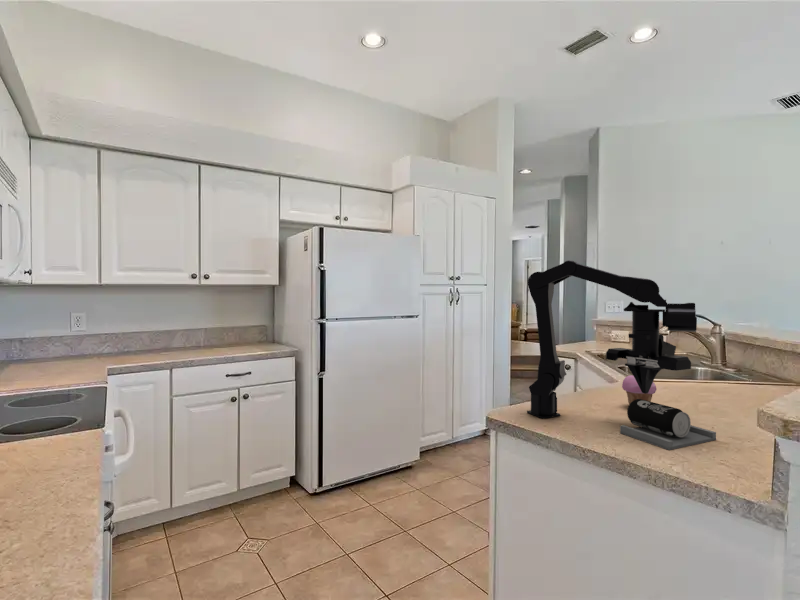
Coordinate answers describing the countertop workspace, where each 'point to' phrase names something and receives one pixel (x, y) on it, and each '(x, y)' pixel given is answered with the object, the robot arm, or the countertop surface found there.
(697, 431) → the grey tray
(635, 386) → the cupcake
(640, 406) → the beverage can
